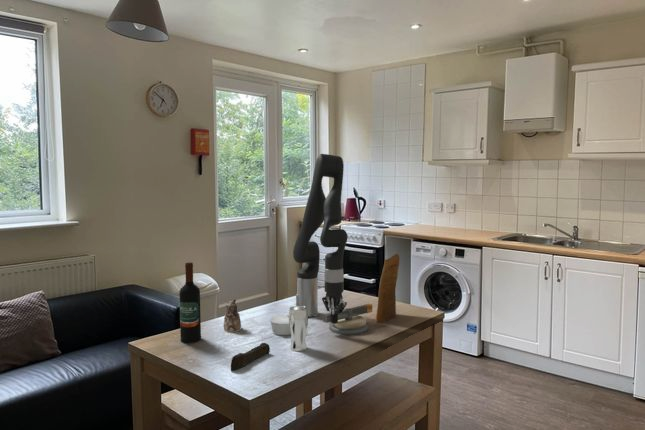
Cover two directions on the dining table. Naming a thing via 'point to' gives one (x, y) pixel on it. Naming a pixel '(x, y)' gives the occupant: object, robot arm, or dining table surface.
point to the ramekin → (280, 325)
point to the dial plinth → (348, 332)
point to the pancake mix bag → (388, 290)
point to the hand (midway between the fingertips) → (334, 323)
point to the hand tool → (249, 356)
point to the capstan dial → (350, 317)
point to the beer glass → (298, 327)
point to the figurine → (232, 318)
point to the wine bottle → (190, 309)
